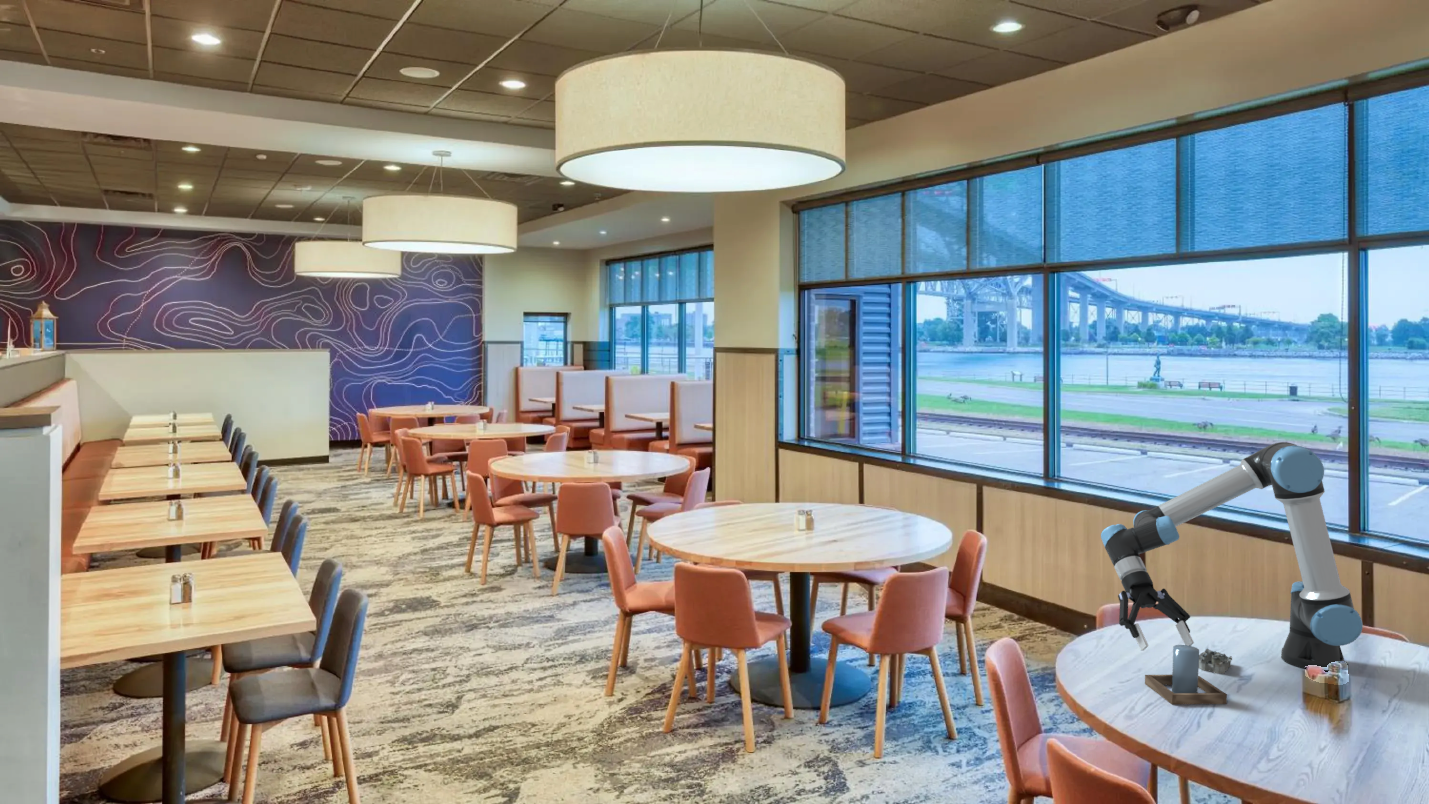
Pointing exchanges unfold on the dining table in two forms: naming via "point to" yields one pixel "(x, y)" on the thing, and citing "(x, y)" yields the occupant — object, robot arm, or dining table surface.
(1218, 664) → the egg carton
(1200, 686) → the wooden square frame
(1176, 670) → the slate jar
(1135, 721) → the dining table surface
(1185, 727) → the dining table surface
